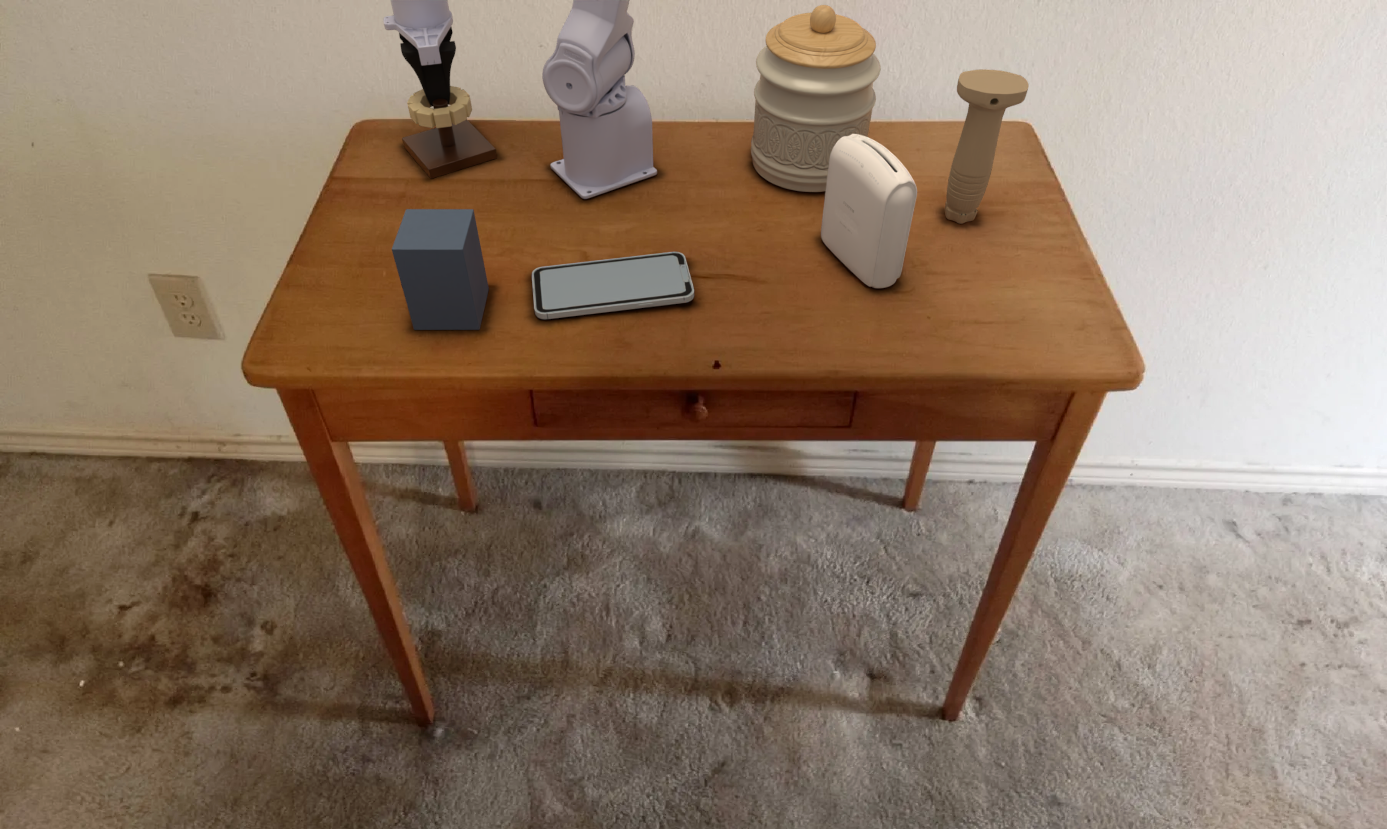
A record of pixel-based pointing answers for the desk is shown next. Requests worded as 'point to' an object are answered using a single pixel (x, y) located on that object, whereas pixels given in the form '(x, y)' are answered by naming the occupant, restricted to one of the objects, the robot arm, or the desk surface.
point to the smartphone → (611, 285)
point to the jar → (811, 96)
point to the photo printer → (868, 209)
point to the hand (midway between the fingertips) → (439, 98)
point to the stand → (448, 147)
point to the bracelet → (440, 109)
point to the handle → (979, 137)
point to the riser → (441, 269)
